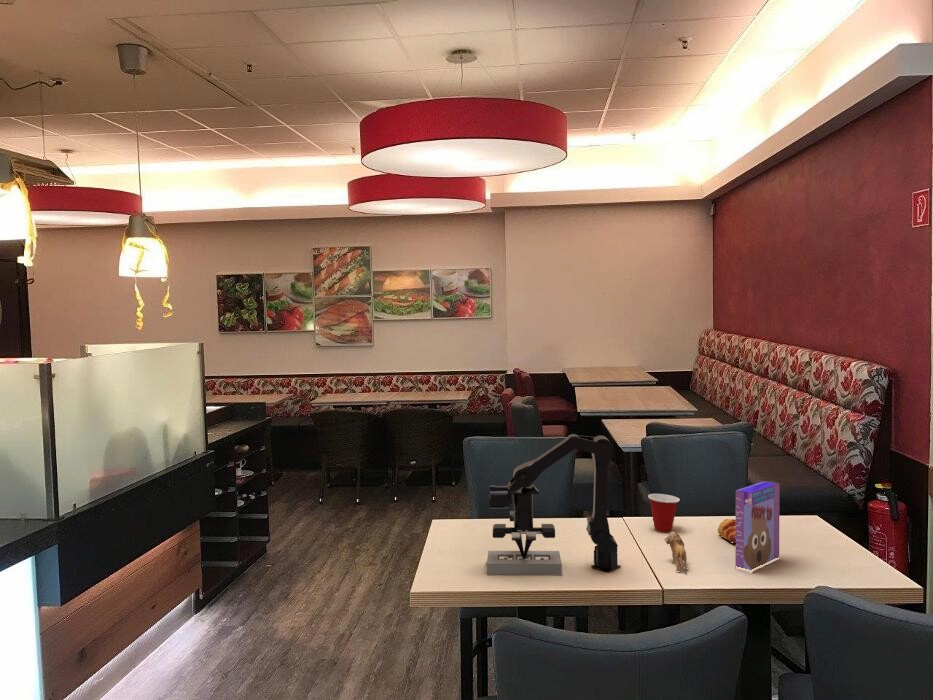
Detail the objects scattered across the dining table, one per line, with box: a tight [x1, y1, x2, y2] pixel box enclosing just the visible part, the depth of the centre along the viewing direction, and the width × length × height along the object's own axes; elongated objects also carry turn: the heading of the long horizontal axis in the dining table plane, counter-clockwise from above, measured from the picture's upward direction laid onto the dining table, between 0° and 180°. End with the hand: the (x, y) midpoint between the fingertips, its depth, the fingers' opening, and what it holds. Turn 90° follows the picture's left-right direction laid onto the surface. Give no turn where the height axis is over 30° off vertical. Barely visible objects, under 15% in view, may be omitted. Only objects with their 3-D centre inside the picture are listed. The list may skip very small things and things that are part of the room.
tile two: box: [517, 556, 531, 560], centre depth 232 cm, size 4×4×2 cm
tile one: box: [535, 557, 549, 560], centre depth 231 cm, size 4×4×2 cm
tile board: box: [486, 550, 563, 576], centre depth 232 cm, size 22×12×3 cm, turn 86°
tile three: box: [499, 556, 512, 560], centre depth 232 cm, size 4×4×2 cm
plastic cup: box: [647, 493, 681, 533], centre depth 268 cm, size 11×11×12 cm
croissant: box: [717, 518, 736, 544], centre depth 259 cm, size 21×10×8 cm, turn 168°
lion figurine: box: [663, 531, 689, 574], centre depth 231 cm, size 15×5×9 cm, turn 3°
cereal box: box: [735, 480, 781, 570], centre depth 231 cm, size 17×5×24 cm, turn 131°
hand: (524, 558), depth 232 cm, fingers closed, pressing on tile two
